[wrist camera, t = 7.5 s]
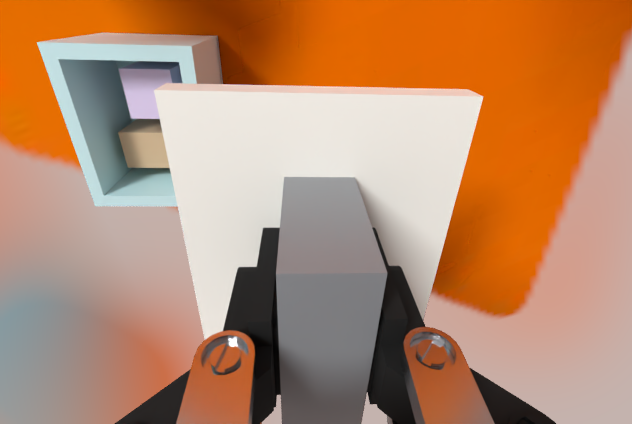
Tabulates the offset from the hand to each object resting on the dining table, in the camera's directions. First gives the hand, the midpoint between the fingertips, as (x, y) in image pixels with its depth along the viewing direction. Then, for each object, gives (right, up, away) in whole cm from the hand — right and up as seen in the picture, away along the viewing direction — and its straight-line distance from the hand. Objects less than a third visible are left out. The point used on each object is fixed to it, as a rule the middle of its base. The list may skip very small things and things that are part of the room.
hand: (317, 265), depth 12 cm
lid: (0, +1, +2) cm, 2 cm away
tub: (-11, +10, +15) cm, 21 cm away
